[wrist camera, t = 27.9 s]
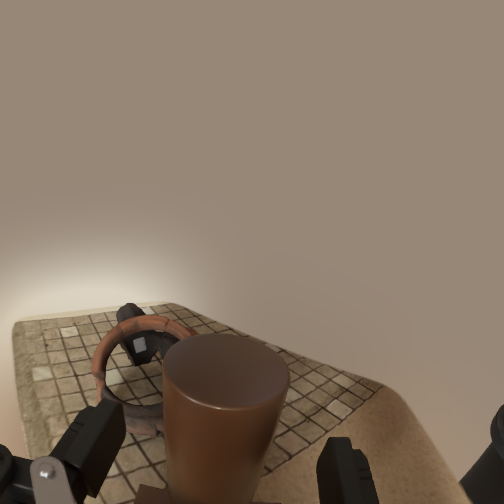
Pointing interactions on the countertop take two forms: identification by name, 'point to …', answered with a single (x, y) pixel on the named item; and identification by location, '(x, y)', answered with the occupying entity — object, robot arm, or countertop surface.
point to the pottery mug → (137, 360)
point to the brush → (218, 418)
